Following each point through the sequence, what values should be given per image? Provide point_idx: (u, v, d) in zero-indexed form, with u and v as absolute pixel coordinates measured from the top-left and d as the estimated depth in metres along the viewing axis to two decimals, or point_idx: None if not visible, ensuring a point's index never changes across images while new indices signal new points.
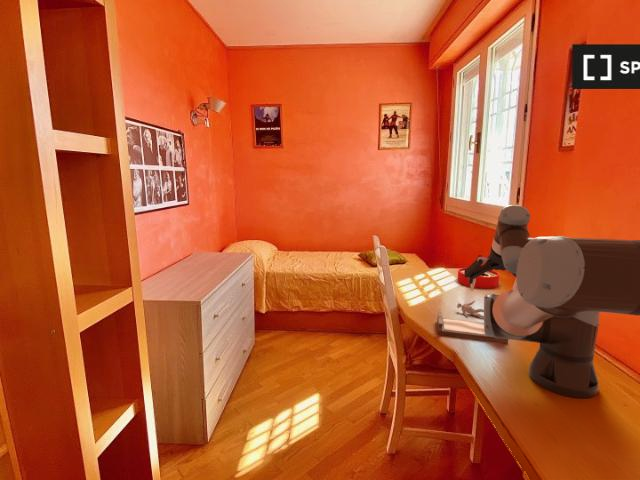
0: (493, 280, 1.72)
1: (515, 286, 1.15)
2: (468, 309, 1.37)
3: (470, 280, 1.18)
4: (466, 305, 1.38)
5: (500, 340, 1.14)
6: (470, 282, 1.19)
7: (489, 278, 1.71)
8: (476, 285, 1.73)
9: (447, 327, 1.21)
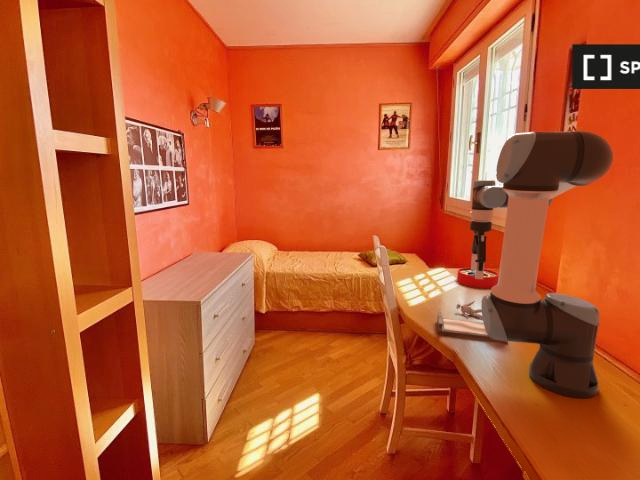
0: (493, 280, 1.72)
1: None
2: (468, 310, 1.36)
3: (482, 266, 1.25)
4: (465, 306, 1.38)
5: (500, 340, 1.14)
6: (482, 269, 1.26)
7: (489, 278, 1.71)
8: (476, 285, 1.73)
9: (447, 327, 1.21)
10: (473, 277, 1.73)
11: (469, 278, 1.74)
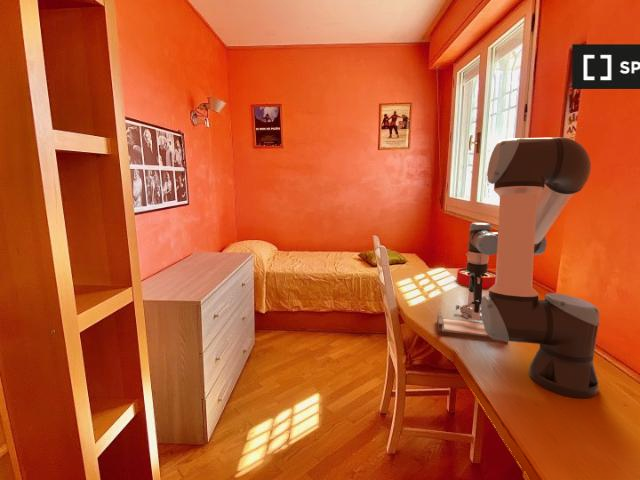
0: (492, 280, 1.71)
1: (473, 299, 1.42)
2: (467, 311, 1.35)
3: (478, 308, 1.28)
4: (465, 307, 1.37)
5: (500, 340, 1.14)
6: (478, 310, 1.29)
7: (488, 278, 1.71)
8: None
9: (447, 327, 1.21)
10: None
11: (469, 278, 1.74)
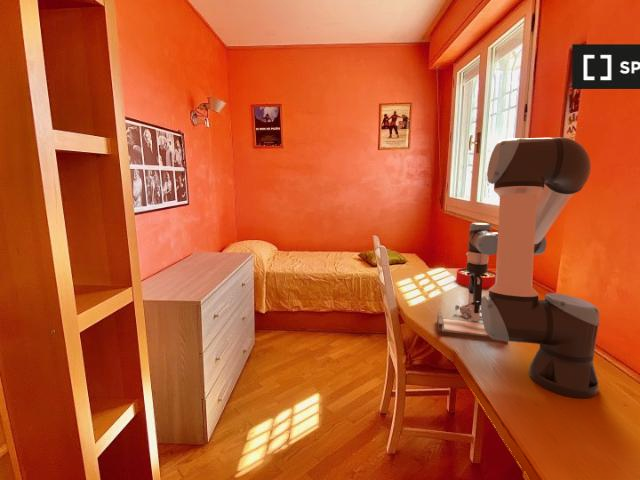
0: (492, 280, 1.71)
1: (473, 301, 1.42)
2: (467, 311, 1.35)
3: (478, 308, 1.29)
4: (464, 307, 1.36)
5: (500, 340, 1.14)
6: None
7: (488, 278, 1.71)
8: None
9: (447, 327, 1.21)
10: None
11: (468, 278, 1.74)
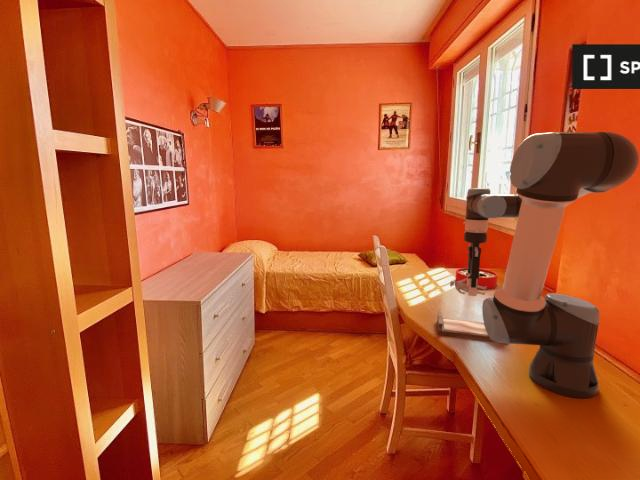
0: (491, 281, 1.71)
1: None
2: (463, 286, 1.27)
3: (475, 282, 1.21)
4: (460, 282, 1.28)
5: None
6: (475, 285, 1.21)
7: (487, 279, 1.70)
8: None
9: (447, 327, 1.21)
10: None
11: None
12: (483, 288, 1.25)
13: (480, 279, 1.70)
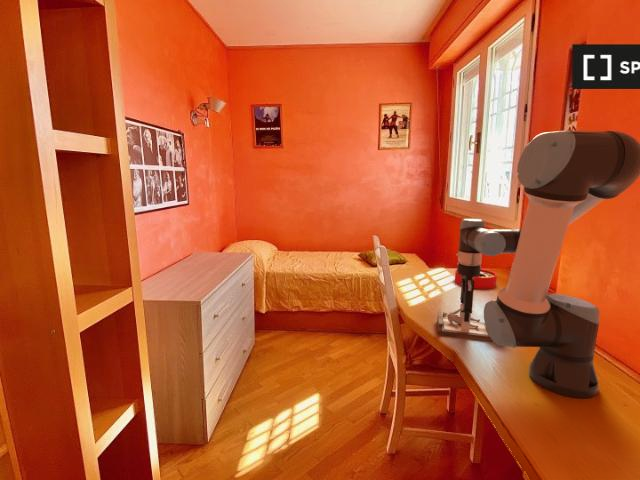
0: (491, 281, 1.71)
1: None
2: (455, 318, 1.23)
3: (469, 316, 1.17)
4: (452, 314, 1.24)
5: None
6: (468, 319, 1.17)
7: (487, 279, 1.70)
8: (474, 286, 1.72)
9: (447, 327, 1.21)
10: None
11: None
12: (476, 320, 1.22)
13: (479, 279, 1.70)
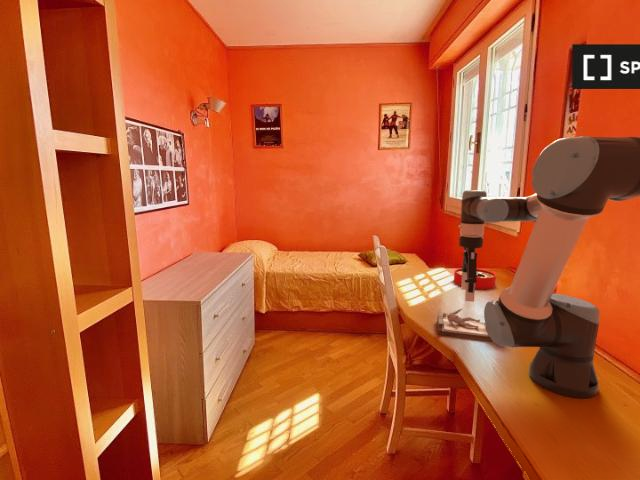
0: (490, 281, 1.71)
1: None
2: (455, 319, 1.23)
3: (473, 287, 1.11)
4: (452, 314, 1.24)
5: None
6: (472, 290, 1.12)
7: (486, 279, 1.70)
8: None
9: (447, 327, 1.21)
10: (470, 278, 1.71)
11: None
12: (476, 321, 1.21)
13: (479, 279, 1.70)
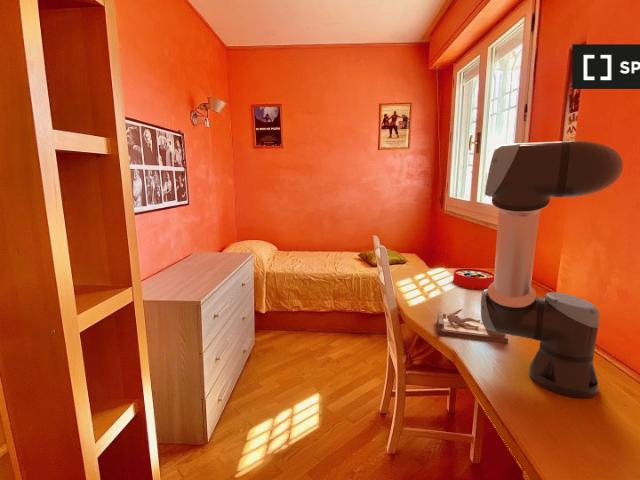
0: (489, 281, 1.70)
1: None
2: (456, 319, 1.22)
3: None
4: (452, 315, 1.24)
5: (500, 340, 1.14)
6: None
7: (485, 279, 1.69)
8: (472, 286, 1.71)
9: (447, 327, 1.21)
10: (470, 278, 1.71)
11: (466, 279, 1.72)
12: (476, 321, 1.21)
13: (478, 280, 1.69)
